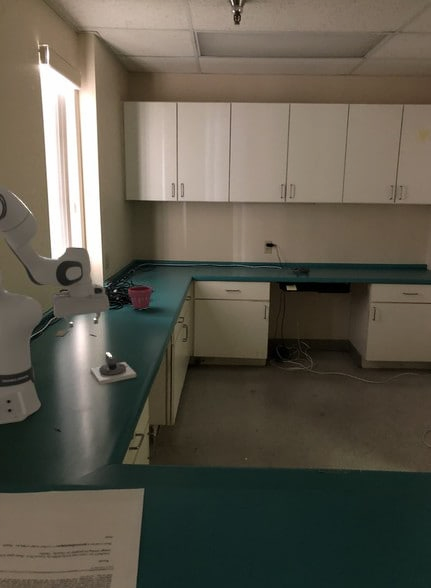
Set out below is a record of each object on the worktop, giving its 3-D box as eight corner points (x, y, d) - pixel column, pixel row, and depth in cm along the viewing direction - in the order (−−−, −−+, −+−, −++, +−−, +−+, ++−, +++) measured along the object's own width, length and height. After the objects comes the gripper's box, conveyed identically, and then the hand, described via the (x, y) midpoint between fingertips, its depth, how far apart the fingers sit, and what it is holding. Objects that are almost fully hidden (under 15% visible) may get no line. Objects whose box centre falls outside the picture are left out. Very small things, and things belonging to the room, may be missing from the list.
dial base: (99, 384, 164) (99, 380, 164) (90, 371, 176) (90, 368, 176) (136, 376, 171) (136, 372, 170) (125, 365, 183) (124, 361, 182)
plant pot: (125, 311, 269) (124, 290, 267) (133, 305, 283) (132, 285, 280) (148, 311, 267) (147, 291, 264) (155, 306, 280) (154, 286, 278)
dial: (129, 372, 171) (128, 359, 170) (103, 377, 166) (102, 364, 165) (120, 362, 181) (119, 350, 180) (95, 366, 177) (94, 354, 176)
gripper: (52, 295, 159) (56, 332, 162) (109, 288, 168) (111, 323, 171) (49, 291, 165) (53, 327, 168) (105, 285, 174) (107, 319, 177)
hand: (83, 325), depth 170 cm, fingers open, 8 cm apart
